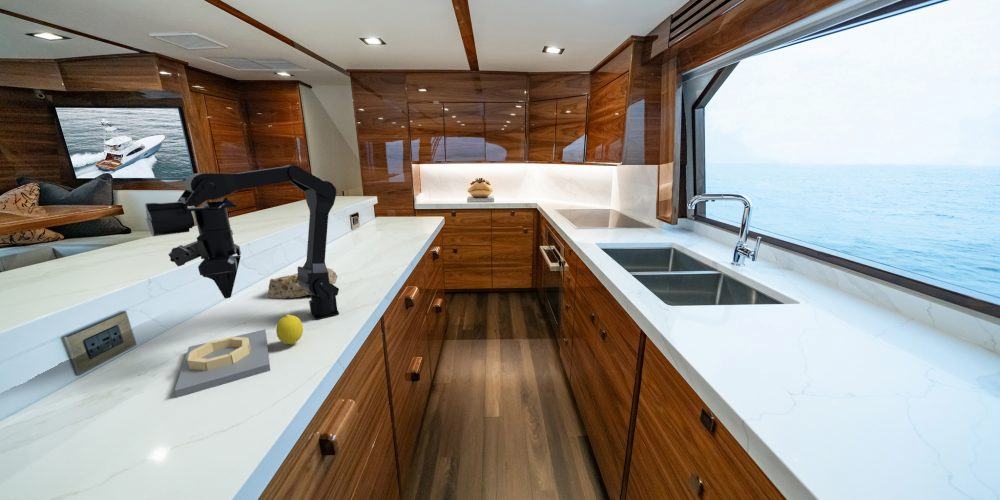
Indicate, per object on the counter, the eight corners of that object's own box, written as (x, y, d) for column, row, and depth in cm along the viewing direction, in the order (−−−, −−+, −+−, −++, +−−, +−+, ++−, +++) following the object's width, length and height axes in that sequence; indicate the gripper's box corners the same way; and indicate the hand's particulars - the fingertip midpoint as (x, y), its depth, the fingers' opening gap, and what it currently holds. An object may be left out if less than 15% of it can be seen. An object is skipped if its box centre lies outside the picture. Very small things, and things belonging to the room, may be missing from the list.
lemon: (293, 351, 80) (288, 320, 78) (273, 348, 81) (268, 318, 79) (310, 340, 86) (305, 311, 84) (291, 337, 87) (286, 309, 85)
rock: (263, 304, 110) (259, 274, 110) (288, 298, 125) (284, 271, 125) (327, 295, 112) (323, 266, 112) (344, 290, 126) (340, 264, 126)
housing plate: (266, 334, 88) (264, 322, 88) (270, 370, 73) (267, 355, 72) (190, 352, 80) (187, 339, 79) (176, 397, 64) (172, 381, 63)
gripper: (176, 226, 80) (192, 287, 84) (156, 240, 65) (176, 314, 69) (234, 221, 86) (246, 278, 90) (228, 233, 71) (243, 301, 75)
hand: (229, 291), depth 81 cm, fingers open, 9 cm apart
